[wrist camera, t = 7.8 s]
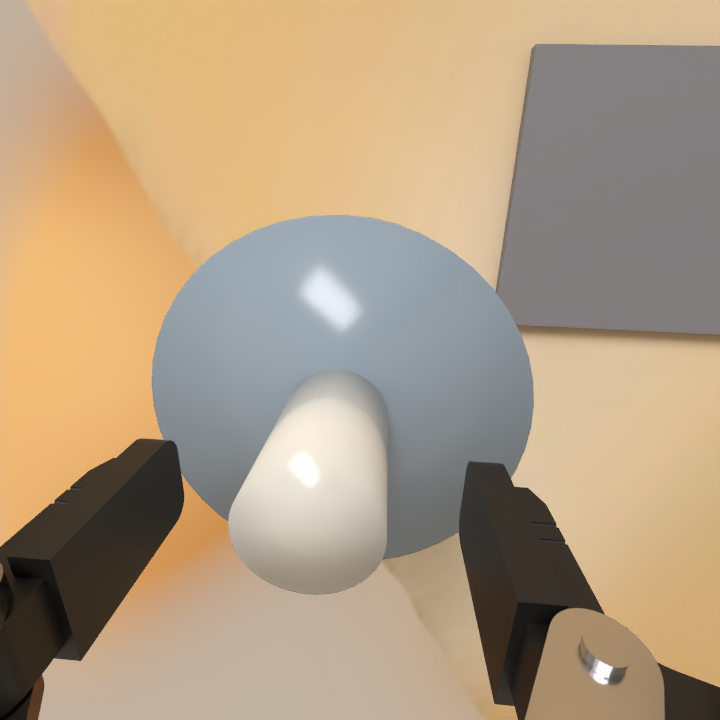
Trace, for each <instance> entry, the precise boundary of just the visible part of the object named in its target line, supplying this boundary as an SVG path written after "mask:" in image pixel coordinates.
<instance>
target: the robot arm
mask: <svg viewBox="0 0 720 720" xmlns="http://www.w3.org/2000/svg"><path fill="white" fill-rule="evenodd" d="M183 503H184V490H183V483H182V476H181V469H180V462H179V455H178V449H177V446H176V444H175V442H174V441H171V440H156V439H138V440H136V441H135V442H134V443H132V444H131V445H130V446H129V447H128V448H127V449H126V450H125V451H124V452H123V453H121V454H120V455H119V456H118V457H117V458H112V459H111V460H109V461H107V462H105V463H103V464H101V465H99V466H97V467H95V468H94V469H92V470H90V471H88V472H87V473H86V474H85V475H84V476H82V477H81V478H80V479H79V480H78V481H77V482H75V483H74V484H73V485H72V486H71V488H70V490H66V491H65V492H64V493H63V494H61V495H60V496H59V497H58V498H57V499H56V500H55V503H54V504H50V505H49V506H48V507H46V508H45V509H44V510H43V511H42V512H41V513H39V514H38V515H37V516H36V517H35V518H34V519H33V520H31V521H30V522H29V523H28V524H26V525H25V526H24V527H23V528H22V529H21V530H19V531H18V532H17V533H16V534H15V535H14V536H13V537H11V538H10V539H9V540H8V541H7V542H5V543H4V544H3V545H2V546H1V547H0V720H38V717H39V712H40V707H41V702H42V697H43V692H44V679H43V676H42V673H43V672H44V671H45V669H46V668H47V667H48V665H49V664H50V663H51V661H52V660H53V659H54V658H57V659H68V660H78V661H81V660H82V658H83V657H84V655H85V654H86V653H87V651H88V650H89V648H90V647H91V645H92V644H93V643H94V641H95V640H96V638H97V637H98V635H99V634H100V632H101V631H102V630H103V628H104V627H105V625H106V623H107V622H108V621H109V619H110V618H111V616H112V615H113V613H114V612H115V611H116V609H117V608H118V606H119V605H120V603H121V602H122V601H123V599H124V598H125V596H126V595H127V593H128V592H129V590H130V589H131V587H132V586H133V585H134V583H135V582H136V580H137V579H138V577H139V576H140V574H141V573H142V572H143V570H144V569H145V567H146V566H147V564H148V563H149V561H150V560H151V558H152V557H153V556H154V554H155V553H156V551H157V550H158V548H159V547H160V545H161V544H162V542H163V541H164V540H165V538H166V536H167V535H168V534H169V532H170V531H171V530H172V528H173V527H174V525H175V524H176V522H177V521H178V519H179V517H180V514H181V512H182V508H183ZM459 536H460V544H461V549H462V554H463V558H464V563H465V568H466V572H467V577H468V582H469V587H470V591H471V596H472V601H473V605H474V610H475V615H476V619H477V624H478V629H479V633H480V638H481V643H482V647H483V652H484V657H485V662H486V666H487V671H488V676H489V680H490V685H491V690H492V694H493V699H494V704H500V705H510V706H515V709H516V713H517V717H518V720H720V688H719V687H717V686H714V685H711V684H709V683H706V682H704V681H701V680H698V679H696V678H693V677H690V676H688V675H685V674H682V673H680V672H677V671H675V670H672V669H670V668H668V667H665V666H663V665H661V664H659V663H658V662H656V660H655V658H654V657H653V655H652V654H651V652H650V651H649V650H648V648H647V647H646V646H645V645H644V644H643V642H642V641H641V640H640V639H639V638H638V637H637V636H636V635H635V634H633V633H632V632H631V631H630V630H629V629H627V628H626V627H625V626H623V625H622V624H620V623H619V622H617V621H616V620H614V619H612V618H610V617H608V616H606V615H605V614H604V612H603V610H602V608H601V606H600V605H599V603H598V601H597V599H596V597H595V595H594V593H593V591H592V590H591V588H590V586H589V584H588V582H587V580H586V578H585V577H584V575H583V573H582V571H581V569H580V567H579V565H578V563H577V562H576V560H575V558H574V556H573V554H572V552H571V550H570V549H569V547H568V545H566V544H565V539H564V537H563V535H562V534H561V532H560V530H559V528H557V527H556V522H555V521H554V519H553V517H552V515H551V513H550V511H549V509H548V507H547V506H546V504H545V503H544V502H543V501H541V500H540V499H539V498H538V497H537V496H536V495H535V494H534V493H533V492H532V491H531V490H529V489H528V488H521V487H514V485H513V483H512V481H511V478H510V476H509V474H508V472H507V470H506V468H505V466H504V464H502V463H488V462H473V461H469V462H468V465H467V468H466V475H465V481H464V488H463V495H462V502H461V509H460V516H459Z"/></svg>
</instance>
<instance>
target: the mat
mask: <svg viewBox="0 0 720 720" xmlns="http://www.w3.org/2000/svg"><path fill="white" fill-rule="evenodd" d="M496 293H497V295H498V296H499V298H500V299H501V300H502V302H503V303H504V305H505V306H506V307H507V309H508V310H509V312H510V314H511V316H512V318H513V320H514V322H515V324H516V325H528V326H549V327H569V328H590V329H611V330H631V331H652V332H673V333H693V334H714V335H720V46H669V45H577V44H536V45H535V46H534V47H533V48H532V53H531V59H530V66H529V73H528V80H527V86H526V93H525V100H524V106H523V113H522V120H521V126H520V133H519V140H518V147H517V153H516V160H515V167H514V173H513V180H512V187H511V193H510V200H509V207H508V213H507V220H506V227H505V234H504V240H503V247H502V254H501V260H500V267H499V274H498V280H497V287H496Z"/></svg>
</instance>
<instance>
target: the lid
mask: <svg viewBox="0 0 720 720" xmlns="http://www.w3.org/2000/svg"><path fill="white" fill-rule="evenodd" d="M152 390H153V401H154V408H155V412H156V416H157V421H158V425H159V428H160V431H161V434H162V436H163V439H164V440H171V441H174V442H175V444H176V446H177V449H178V455H179V462H180V469H181V473H182V475H183V476H184V478H185V479H186V480H187V482H188V483H189V485H190V486H191V487H192V488H193V489H194V490H195V492H196V493H197V494H198V495H199V496H200V497H201V498H202V499H203V501H205V502H206V503H207V504H208V505H209V506H210V507H211V508H212V509H213V510H214V511H215V512H217V513H218V514H219V515H220V516H222V517H223V518H224V519H226V520H227V521H228V528H229V535H230V539H231V542H232V545H233V547H234V549H235V551H236V552H237V554H238V556H239V557H240V559H241V560H242V561H243V562H244V563H245V565H246V566H247V567H248V568H249V569H251V571H253V572H254V573H255V574H256V575H258V576H259V577H260V578H262V579H263V580H265V581H267V582H269V583H271V584H273V585H275V586H277V587H280V588H282V589H285V590H288V591H292V592H297V593H303V594H329V593H336V592H340V591H343V590H346V589H349V588H351V587H354V586H356V585H357V584H359V583H361V582H362V581H364V580H365V579H366V578H368V577H369V576H370V575H371V574H372V573H373V572H374V571H375V570H376V568H377V567H378V566H379V564H380V562H381V560H384V559H389V558H395V557H400V556H403V555H407V554H410V553H414V552H417V551H420V550H423V549H425V548H427V547H430V546H432V545H435V544H437V543H439V542H441V541H443V540H445V539H447V538H448V537H450V536H452V535H454V534H456V533H457V532H459V516H460V509H461V502H462V495H463V488H464V481H465V475H466V468H467V465H468V462H469V461H473V462H488V463H502V464H504V466H505V468H506V470H507V472H508V474H509V476H510V478H511V477H512V475H513V474H514V472H515V471H516V469H517V466H518V464H519V462H520V460H521V457H522V455H523V453H524V451H525V447H526V444H527V440H528V436H529V433H530V429H531V423H532V415H533V407H534V399H533V378H532V373H531V367H530V362H529V357H528V354H527V351H526V348H525V345H524V342H523V339H522V336H521V333H520V331H519V329H518V327H517V326H516V324H515V322H514V320H513V318H512V316H511V314H510V312H509V310H508V309H507V307H506V306H505V305H504V303H503V302H502V300H501V299H500V298H499V296H498V295H497V293H496V292H495V291H494V289H493V288H492V287H491V286H490V285H489V284H488V283H487V282H486V281H485V280H484V279H483V278H482V277H481V276H480V274H479V273H478V272H477V271H476V270H475V269H474V268H472V267H471V266H470V265H469V264H467V263H466V262H465V261H463V260H462V259H461V258H460V257H458V256H457V255H456V254H454V253H453V252H452V251H450V250H449V249H447V248H446V247H444V246H442V245H441V244H439V243H437V242H435V241H434V240H432V239H430V238H428V237H427V236H425V235H423V234H421V233H419V232H416V231H414V230H411V229H409V228H406V227H404V226H401V225H399V224H396V223H392V222H388V221H383V220H379V219H375V218H371V217H361V216H351V215H331V216H309V217H304V218H298V219H293V220H287V221H282V222H279V223H276V224H273V225H270V226H267V227H264V228H261V229H258V230H255V231H253V232H251V233H249V234H247V235H245V236H243V237H241V238H240V239H238V240H236V241H234V242H232V243H230V244H229V245H227V246H226V247H225V248H223V249H222V250H220V251H219V252H217V253H216V254H215V255H213V256H212V257H210V258H209V259H208V260H207V261H206V262H205V263H204V264H203V265H202V266H201V267H200V268H199V269H198V270H197V271H196V272H195V273H194V274H193V275H192V276H191V277H190V278H189V280H188V281H187V282H186V284H185V285H184V286H183V288H182V289H181V290H180V292H179V293H178V294H177V296H176V297H175V299H174V301H173V303H172V305H171V307H170V309H169V310H168V312H167V314H166V316H165V318H164V321H163V324H162V327H161V330H160V332H159V335H158V338H157V343H156V348H155V353H154V358H153V369H152Z"/></svg>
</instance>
